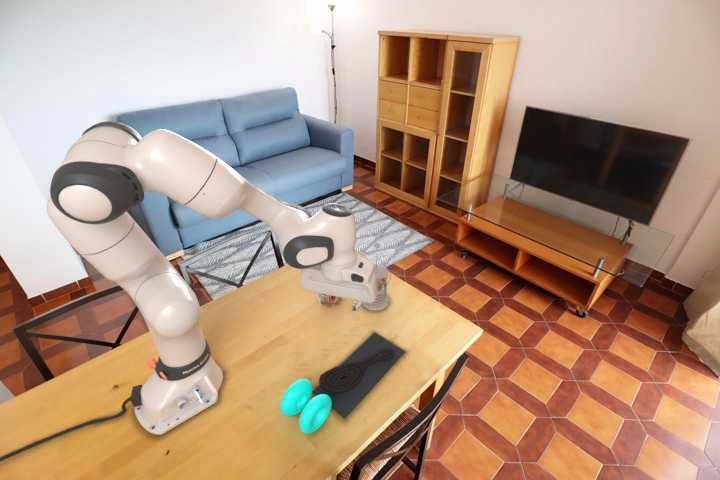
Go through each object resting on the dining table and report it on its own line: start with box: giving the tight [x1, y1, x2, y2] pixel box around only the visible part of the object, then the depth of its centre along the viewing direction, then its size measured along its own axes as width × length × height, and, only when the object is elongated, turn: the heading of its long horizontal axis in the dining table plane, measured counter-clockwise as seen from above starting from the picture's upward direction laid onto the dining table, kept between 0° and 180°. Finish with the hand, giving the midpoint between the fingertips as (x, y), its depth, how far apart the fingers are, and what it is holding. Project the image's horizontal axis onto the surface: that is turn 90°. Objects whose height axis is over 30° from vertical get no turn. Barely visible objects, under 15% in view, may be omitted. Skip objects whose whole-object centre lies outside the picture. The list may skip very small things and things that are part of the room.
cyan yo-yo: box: [279, 378, 332, 435], centre depth 93 cm, size 10×10×10 cm
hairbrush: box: [318, 349, 395, 394], centre depth 106 cm, size 8×4×25 cm
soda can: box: [323, 294, 342, 304], centre depth 130 cm, size 7×7×12 cm
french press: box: [361, 242, 392, 312], centre depth 126 cm, size 10×12×25 cm
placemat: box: [312, 331, 406, 419], centre depth 107 cm, size 28×12×1 cm, turn 140°
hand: (339, 306), depth 99 cm, fingers open, 8 cm apart
